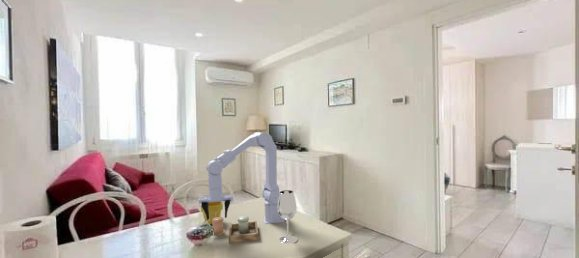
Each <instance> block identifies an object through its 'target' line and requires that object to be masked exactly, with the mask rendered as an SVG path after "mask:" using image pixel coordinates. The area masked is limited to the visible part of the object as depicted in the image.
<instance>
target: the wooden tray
mask: <svg viewBox="0 0 579 258" xmlns="http://www.w3.org/2000/svg"><path fill="white" fill-rule="evenodd" d="M257 223H258V221H257V220H255V221H248V227H249V231H248V232H247V233H239V228H238V222H234V223H229V229H228V235H227V236H228V244H233V243H242V242H244V243H245V242H251V241H253V242H254V241H259V230H258V229H259V228H258V224H257Z"/></svg>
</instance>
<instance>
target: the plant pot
mask: <svg viewBox="0 0 579 258" xmlns="http://www.w3.org/2000/svg"><path fill="white" fill-rule="evenodd" d="M223 202H224V201H220V202H210V203H208V206H209V219H208V220H207V217H206V214H205V212H204V210H203V208H202V206H201V205H202V204H200V211H201V212H202V216H203V220H204V222H205V221H208V223H209V224H212V225H211V226H213V222H212V219H213V218H216V217H221V215H222V210H223V209H224V205H223V204H224V203H223Z"/></svg>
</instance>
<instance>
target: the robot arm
mask: <svg viewBox="0 0 579 258" xmlns="http://www.w3.org/2000/svg"><path fill="white" fill-rule="evenodd" d="M256 146H257V147H258V146H259V147H261V149H263V151H265V184H264V185H263V190H262V193H261V194H262V198H263V199H264V217H263V221H264V224H265V225H267V224H276V223H284V222H285V221H286V220H285V219H283V218H281V217H280V215H279V214H278V199H279V194H280V187H279V185H278V183H277V182H278V180H277V179H278V177H277V176H278V175H277V173H278V171H277V170H278V169H277V167H278V165H277V163H278V161H277V157H278V156H277V155H278V154H277V153H278V151H277V146H276V144H275V142H274V140H273V136H272V135H270V134H269V133H268V132H262V131H256V132H254V133H253V134H250V135H248V137H247V138H245V139H244V140H243V141H241V142H240V143H239V144H238V145H237V146H235V147H233V149H227V150H225V149H224V150H223V151H222V153H221V154H219V156H216V157H214V158H213V160H210V161H208V162H207V165H206V166H205V169H206V171H207V172H208V174H207V175H208V178H207V181H208V196H205V197H199V198H198V204H199V205H200V207H201V206H202V208H203V210H204V212H205V214H206V217H207V220H208V219H209V206H208V203H210V202H220V201H222V202H224V203H223V204H224V205H223V206H224V218H225V219H227V217H228V210H229V207H230V205H231V202H232V201H234V197H233V196H234V195H223V180H222V172H223V169H225V168H226V167H228V166H229V165H230V164H232V163H233V162H235V161H236V159H237V156H238V155H240V154H241V153H242V152H244V151H246V150H247V149H249V148H250V147H256ZM201 204H202V205H201ZM285 223H286V222H285Z"/></svg>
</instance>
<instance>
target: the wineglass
mask: <svg viewBox="0 0 579 258" xmlns="http://www.w3.org/2000/svg"><path fill="white" fill-rule="evenodd" d="M279 192H280V194H279V199H278V214H279V215H280V217H281V218H283V219H284V221H286V222H285V223H286V235H284V236H283V235H282V236H281V237H280V238H279V242H280V243H283V244H293V243H297V241H298V238H297V236H295V235H290V233H289V232H290V230H289V228H290V227H289V222H290V220H292V219H293V218H294V217H295V216H296V214H297V209H298V208H297V207H298V206H297V201H296V198H295V197H296V196H295V193H294V191H293V190H290V189H285V190H281V191H280V190H279Z"/></svg>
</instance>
